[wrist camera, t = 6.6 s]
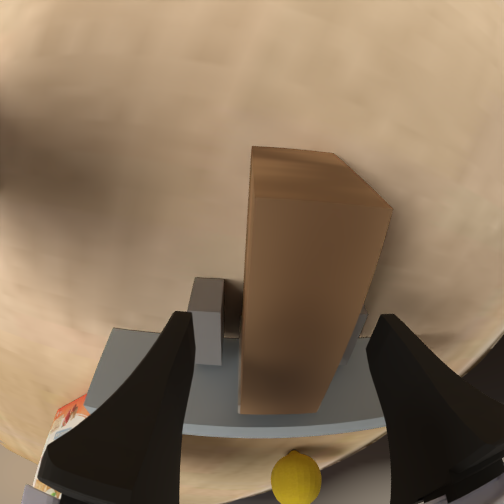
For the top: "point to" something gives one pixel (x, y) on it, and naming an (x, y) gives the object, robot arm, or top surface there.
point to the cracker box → (61, 425)
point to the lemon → (296, 479)
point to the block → (303, 275)
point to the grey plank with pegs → (226, 379)
